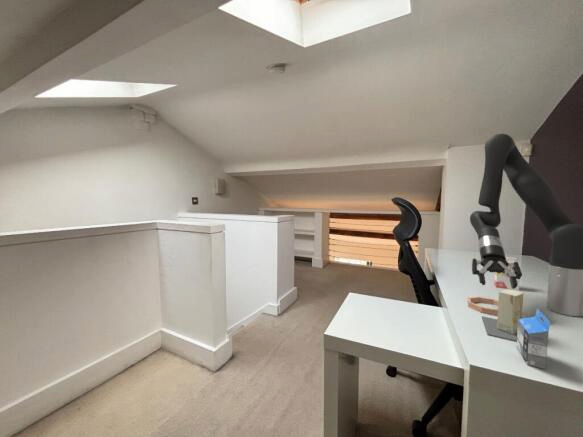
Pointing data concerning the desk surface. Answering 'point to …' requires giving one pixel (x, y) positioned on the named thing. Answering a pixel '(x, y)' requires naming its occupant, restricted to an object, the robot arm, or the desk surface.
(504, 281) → the ink cartridge box
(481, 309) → the ring
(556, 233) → the robot arm
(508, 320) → the skincare box
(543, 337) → the label tape cartridge
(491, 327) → the mat
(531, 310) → the desk surface
